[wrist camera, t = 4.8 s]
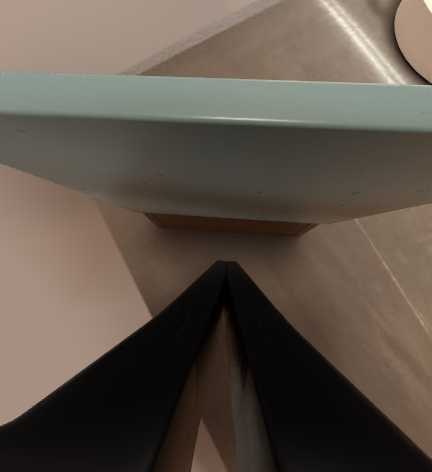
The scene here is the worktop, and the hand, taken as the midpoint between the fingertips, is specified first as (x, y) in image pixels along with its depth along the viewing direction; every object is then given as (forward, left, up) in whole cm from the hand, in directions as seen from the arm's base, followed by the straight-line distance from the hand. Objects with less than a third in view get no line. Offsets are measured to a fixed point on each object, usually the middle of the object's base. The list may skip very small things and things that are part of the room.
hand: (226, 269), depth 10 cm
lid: (+3, +3, 0) cm, 4 cm away
